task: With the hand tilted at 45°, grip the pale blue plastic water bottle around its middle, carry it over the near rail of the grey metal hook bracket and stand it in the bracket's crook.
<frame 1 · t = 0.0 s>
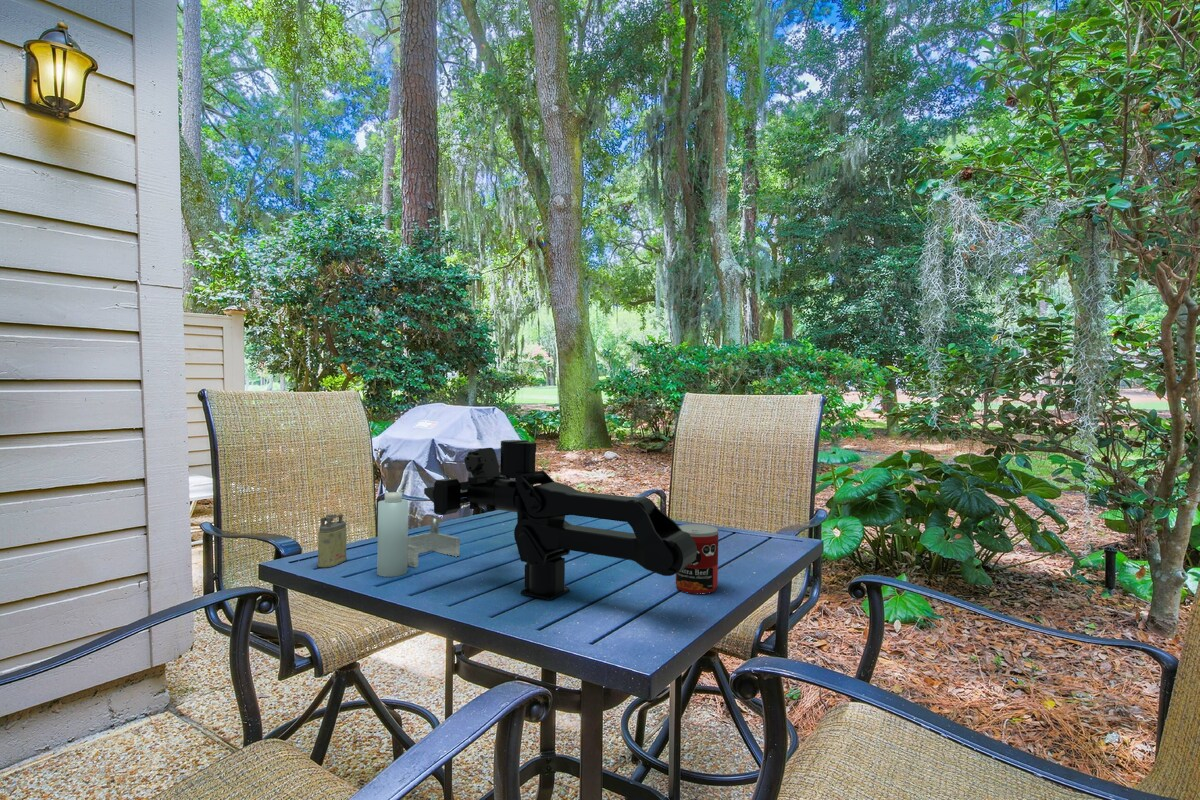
hand: (442, 487, 116), 17 cm above the table, tool horizontal, fingers open, 9 cm apart
canned food: (696, 589, 107), on the table
lighter: (333, 564, 121), on the table
bottle: (392, 572, 115), on the table
hook bracket: (426, 558, 125), on the table
drinking cup: (531, 554, 130), on the table
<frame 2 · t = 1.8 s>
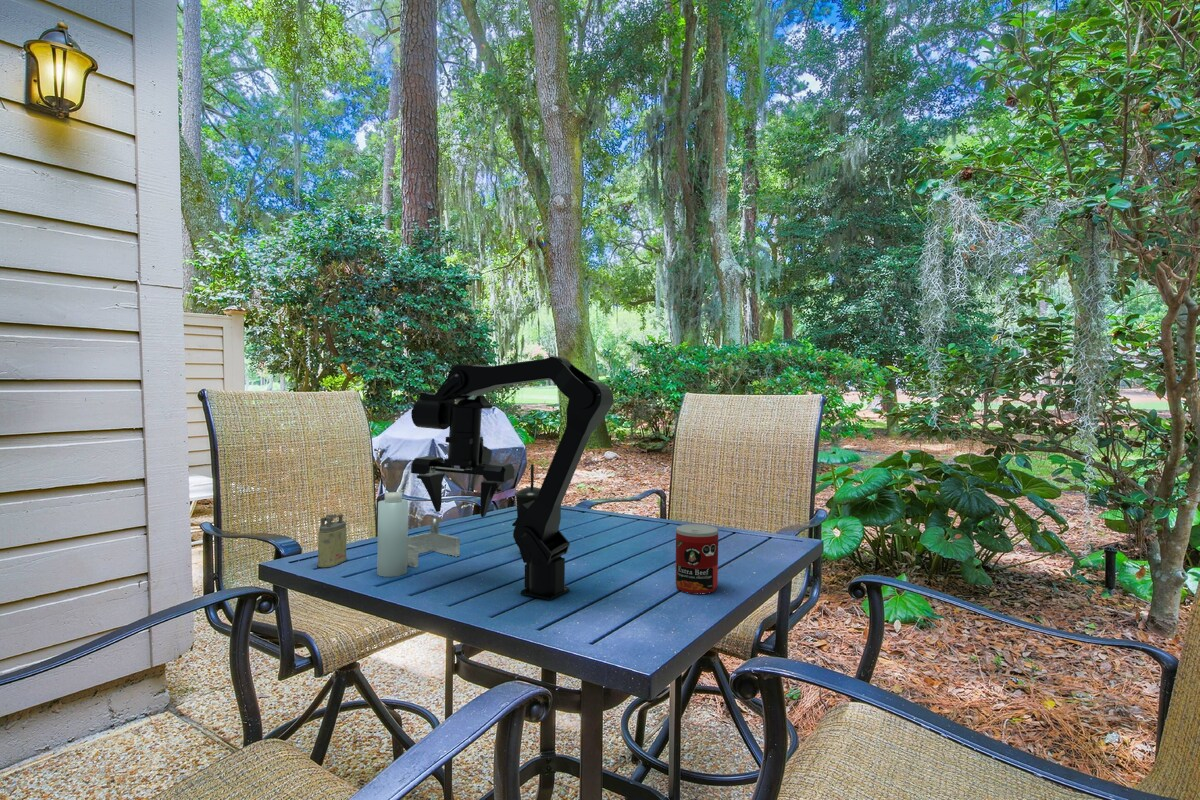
hand: (460, 514, 110), 13 cm above the table, tool pointing down, fingers open, 9 cm apart
nothing on the table moved.
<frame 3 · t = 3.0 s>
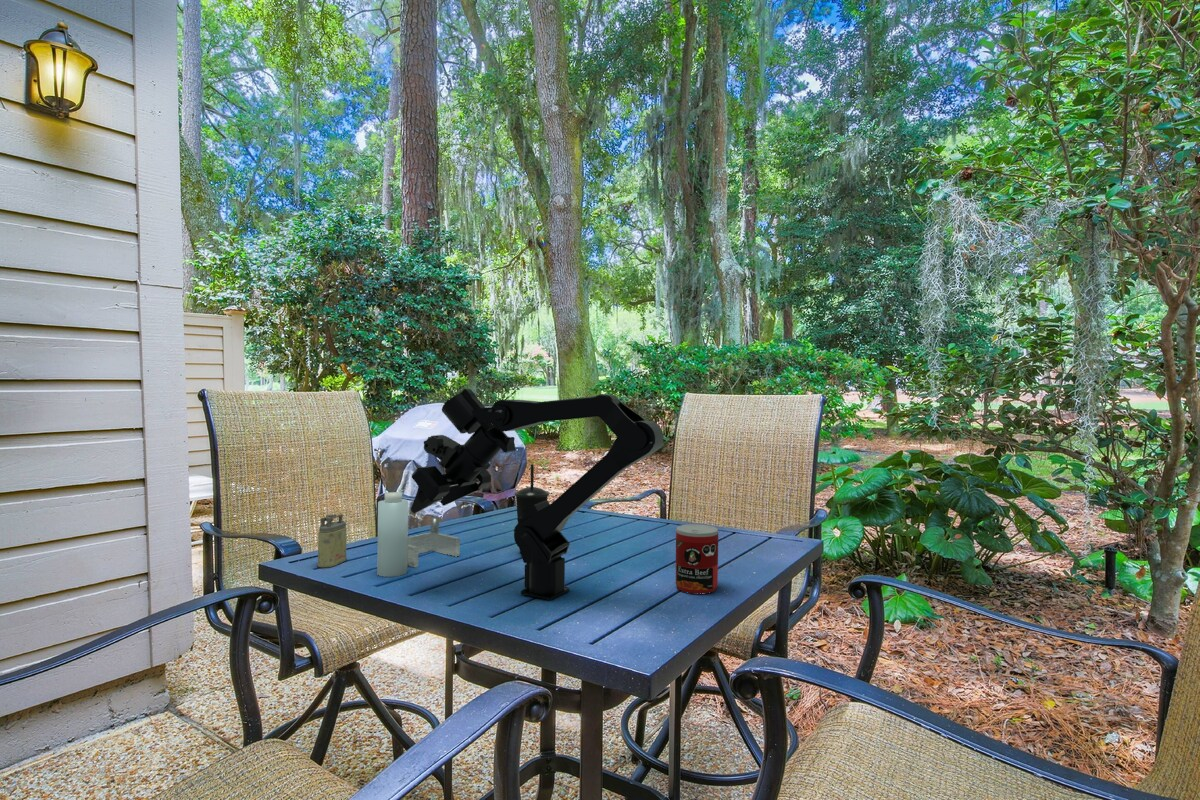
hand: (427, 507, 112), 13 cm above the table, tool tilted 45°, fingers open, 9 cm apart
nothing on the table moved.
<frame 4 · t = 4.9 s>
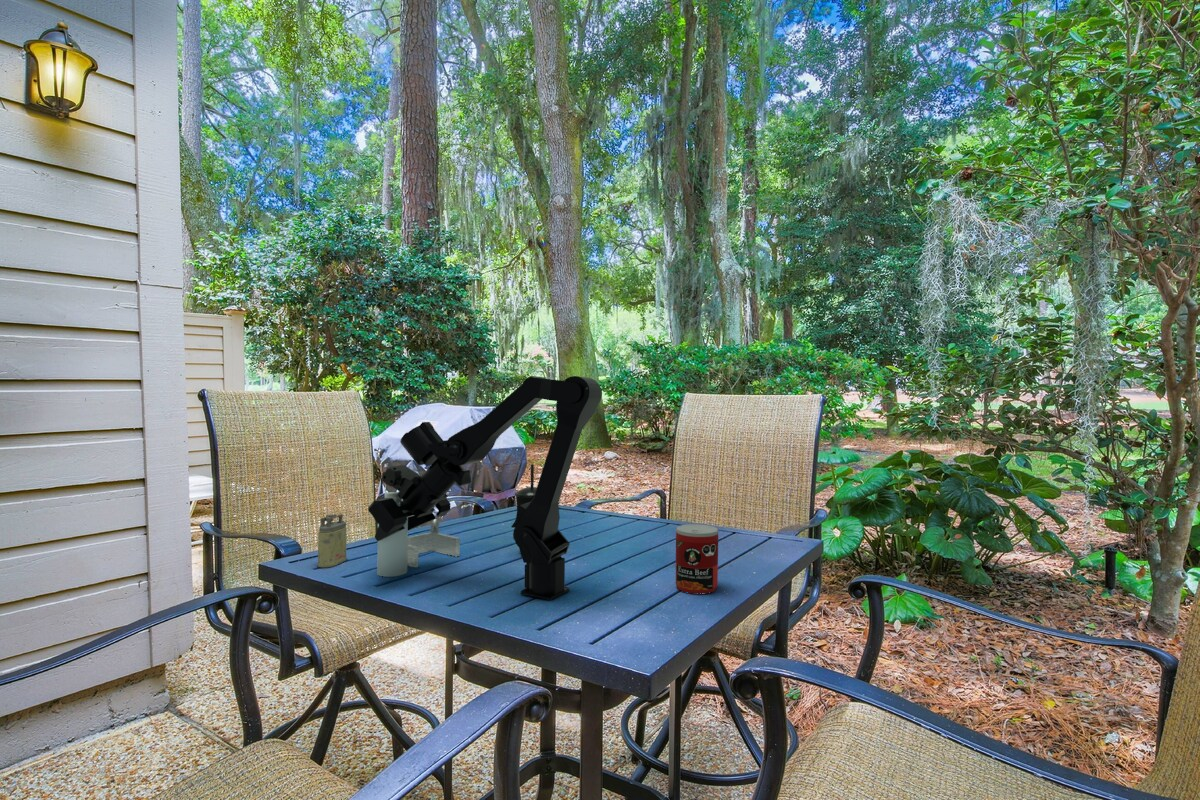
hand: (387, 535, 115), 7 cm above the table, tool tilted 45°, fingers closed on bottle, 6 cm apart
bottle: (392, 572, 115), on the table, touching gripper
everything else where it was.
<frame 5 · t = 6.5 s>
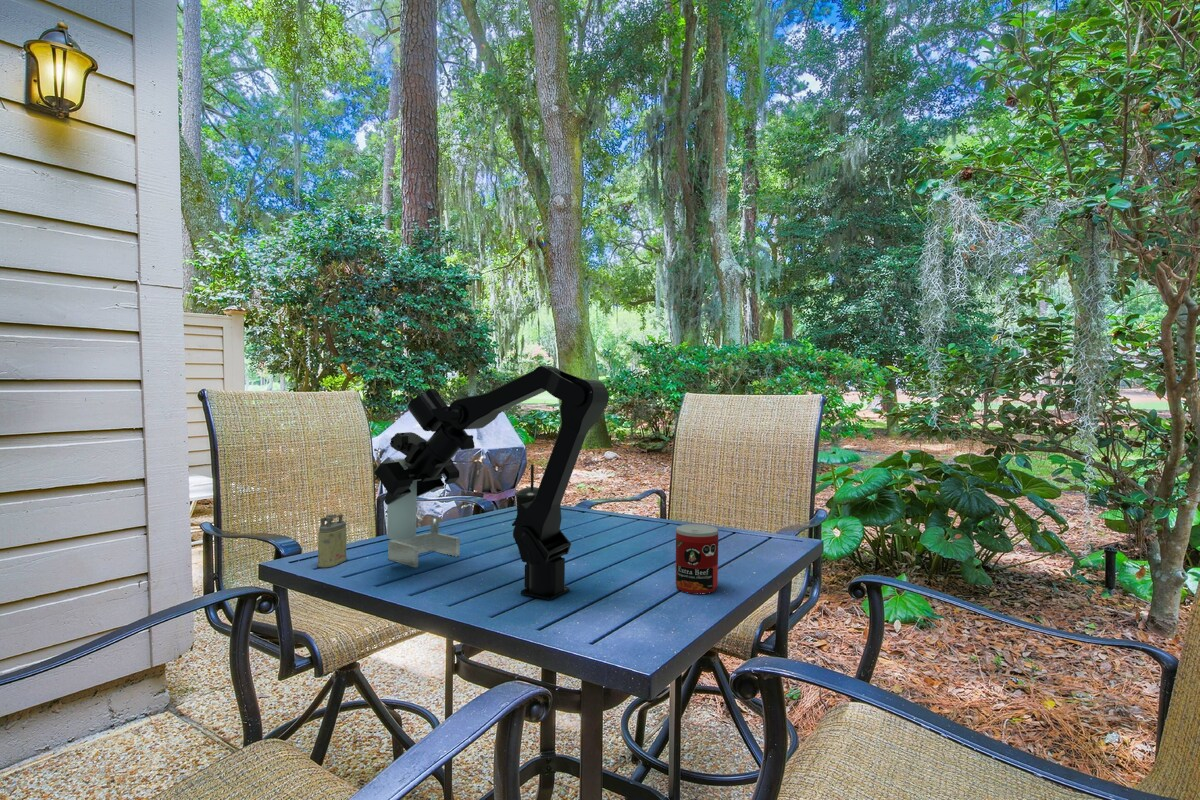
hand: (397, 500, 119), 14 cm above the table, tool tilted 45°, fingers closed on bottle, 6 cm apart
bottle: (401, 536, 118), point 6 cm above the table, touching gripper
everything else where it was.
when the fingers open (8 cm above the table, at t = 8.4 s): bottle drops 1 cm, on the table.
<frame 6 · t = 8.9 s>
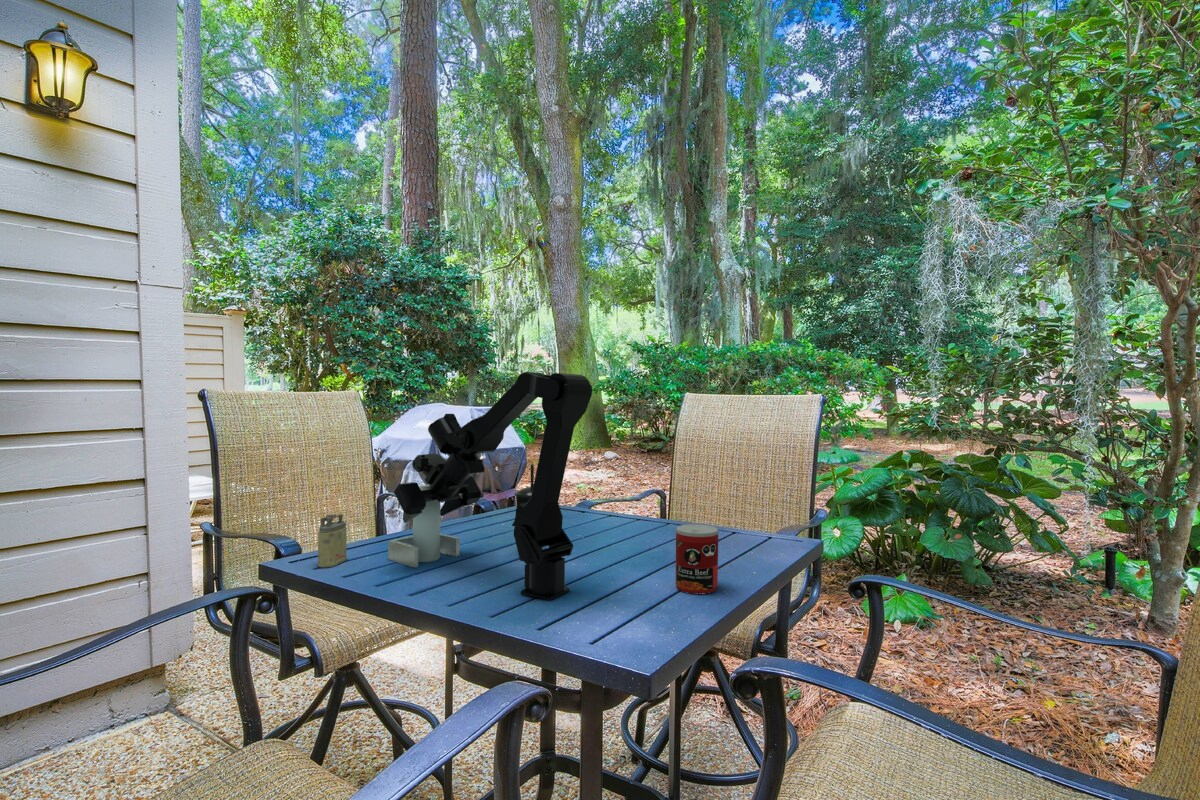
hand: (422, 517, 126), 9 cm above the table, tool tilted 45°, fingers open, 9 cm apart
bottle: (426, 558, 125), on the table
everything else where it was.
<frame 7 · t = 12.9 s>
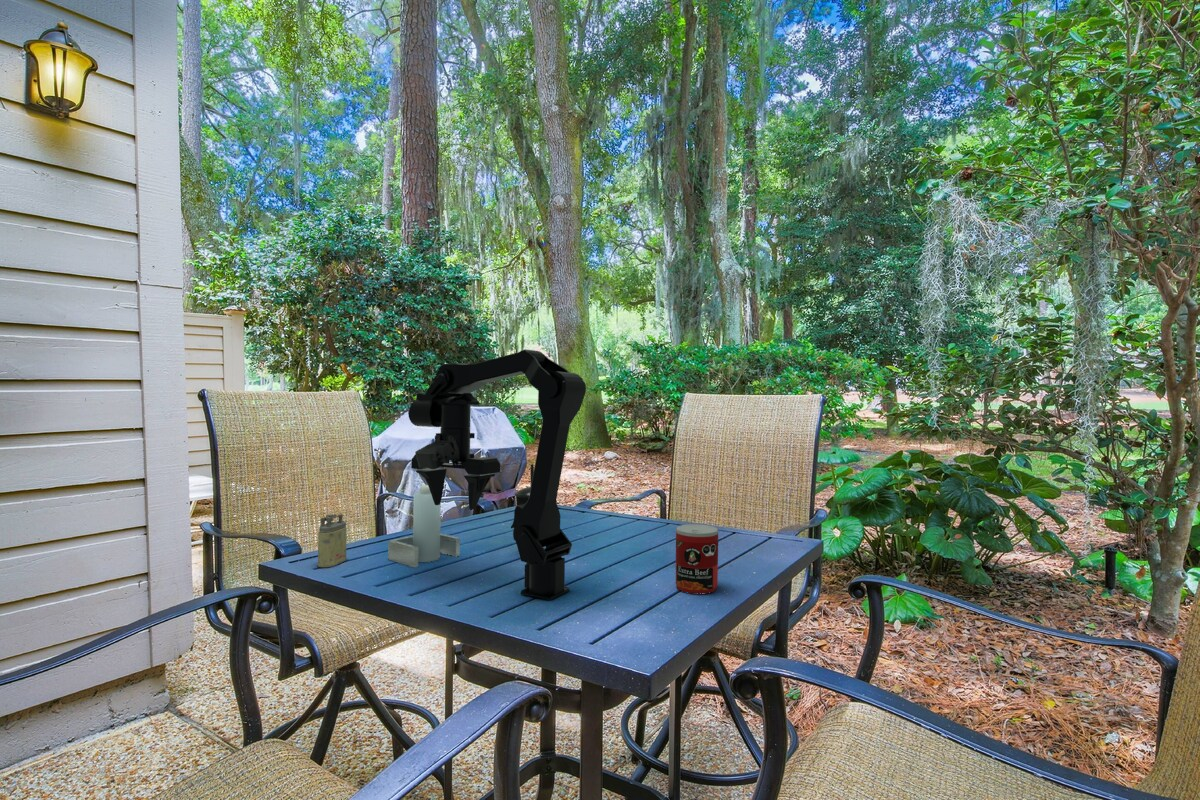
hand: (454, 507, 115), 13 cm above the table, tool pointing down, fingers open, 9 cm apart
nothing on the table moved.
at the end: bottle inside the target area on the hook bracket (0.3 cm from its centre), point 0.0 cm above the hook bracket's base; bottle tilted 0°; the gripper is holding nothing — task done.
